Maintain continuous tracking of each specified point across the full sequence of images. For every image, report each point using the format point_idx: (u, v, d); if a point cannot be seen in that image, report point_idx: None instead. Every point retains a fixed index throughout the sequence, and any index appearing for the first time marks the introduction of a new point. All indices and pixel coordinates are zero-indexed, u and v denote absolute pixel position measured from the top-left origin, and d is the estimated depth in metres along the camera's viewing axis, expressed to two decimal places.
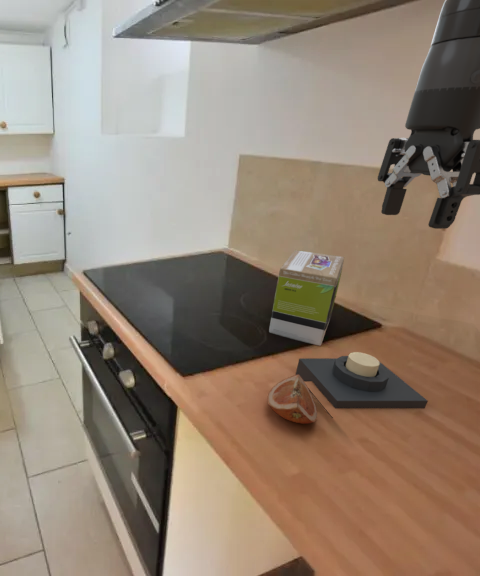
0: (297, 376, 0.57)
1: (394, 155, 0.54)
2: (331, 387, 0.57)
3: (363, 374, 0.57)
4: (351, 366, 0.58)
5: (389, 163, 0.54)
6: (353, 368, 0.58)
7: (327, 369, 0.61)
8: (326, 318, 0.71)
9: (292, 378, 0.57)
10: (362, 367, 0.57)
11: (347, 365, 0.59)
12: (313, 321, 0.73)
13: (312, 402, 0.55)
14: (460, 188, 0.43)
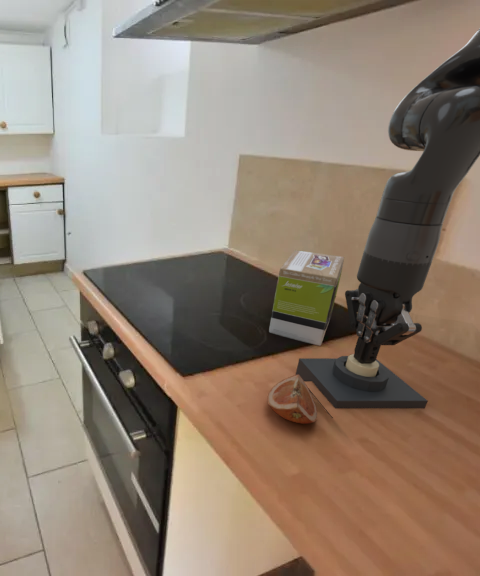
0: (297, 376, 0.57)
1: (355, 303, 0.59)
2: (331, 387, 0.57)
3: None
4: (350, 368, 0.58)
5: (354, 310, 0.59)
6: (352, 370, 0.58)
7: (327, 369, 0.61)
8: (326, 318, 0.71)
9: (292, 378, 0.57)
10: (361, 368, 0.57)
11: (346, 367, 0.59)
12: (313, 321, 0.73)
13: (312, 402, 0.55)
14: (376, 340, 0.54)
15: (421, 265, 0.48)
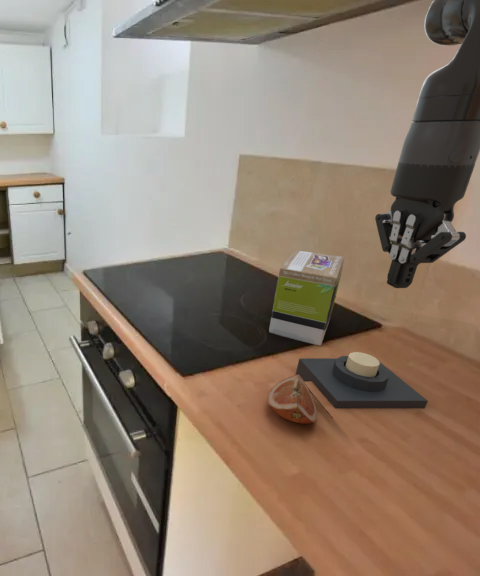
0: (297, 376, 0.57)
1: (387, 226, 0.56)
2: (331, 387, 0.57)
3: (363, 374, 0.57)
4: (351, 366, 0.58)
5: (386, 233, 0.55)
6: (353, 368, 0.58)
7: (327, 369, 0.61)
8: (326, 318, 0.71)
9: (292, 378, 0.57)
10: (362, 367, 0.57)
11: (347, 365, 0.59)
12: (313, 321, 0.73)
13: (312, 402, 0.55)
14: (414, 258, 0.50)
15: (464, 167, 0.45)
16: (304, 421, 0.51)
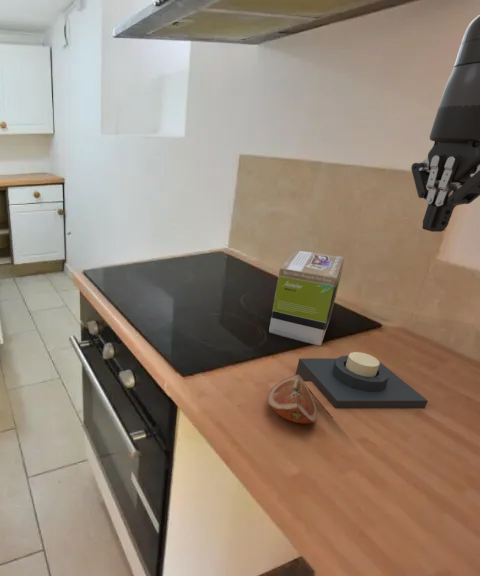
0: (297, 376, 0.57)
1: (423, 174, 0.58)
2: (331, 387, 0.57)
3: (363, 374, 0.57)
4: (351, 366, 0.58)
5: (423, 180, 0.58)
6: (353, 368, 0.58)
7: (327, 369, 0.61)
8: (326, 318, 0.71)
9: (292, 378, 0.57)
10: (362, 367, 0.57)
11: (347, 365, 0.59)
12: (313, 321, 0.73)
13: (312, 402, 0.55)
14: (452, 198, 0.53)
15: None
16: (304, 421, 0.51)
